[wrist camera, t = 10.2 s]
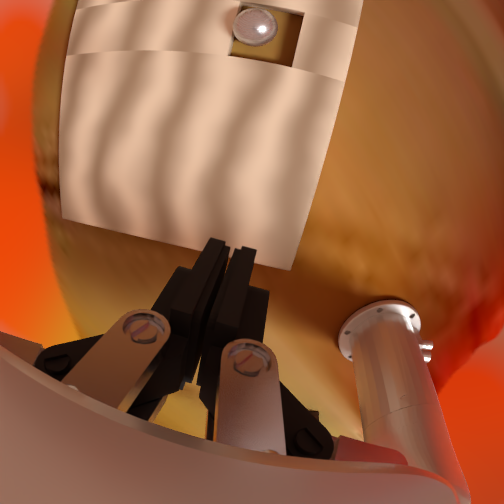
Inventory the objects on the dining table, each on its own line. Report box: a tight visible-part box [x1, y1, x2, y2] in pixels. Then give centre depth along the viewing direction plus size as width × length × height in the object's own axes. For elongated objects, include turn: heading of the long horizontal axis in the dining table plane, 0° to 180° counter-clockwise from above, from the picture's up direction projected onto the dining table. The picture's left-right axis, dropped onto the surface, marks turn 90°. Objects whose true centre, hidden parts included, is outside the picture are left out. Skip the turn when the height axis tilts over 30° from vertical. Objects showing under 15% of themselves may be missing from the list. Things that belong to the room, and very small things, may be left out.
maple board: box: [59, 0, 363, 271], centre depth 25 cm, size 30×32×2 cm
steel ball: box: [233, 8, 278, 47], centre depth 20 cm, size 4×4×4 cm
